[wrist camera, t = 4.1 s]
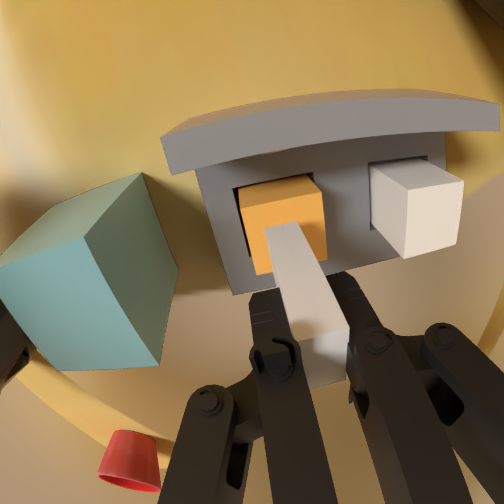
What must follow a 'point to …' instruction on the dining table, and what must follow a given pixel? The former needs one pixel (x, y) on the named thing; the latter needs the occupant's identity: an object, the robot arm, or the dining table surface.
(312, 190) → the tagged button
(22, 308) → the cover
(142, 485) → the flower pot
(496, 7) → the bowl of black rocks
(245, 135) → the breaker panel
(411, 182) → the plain button
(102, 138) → the dining table surface
